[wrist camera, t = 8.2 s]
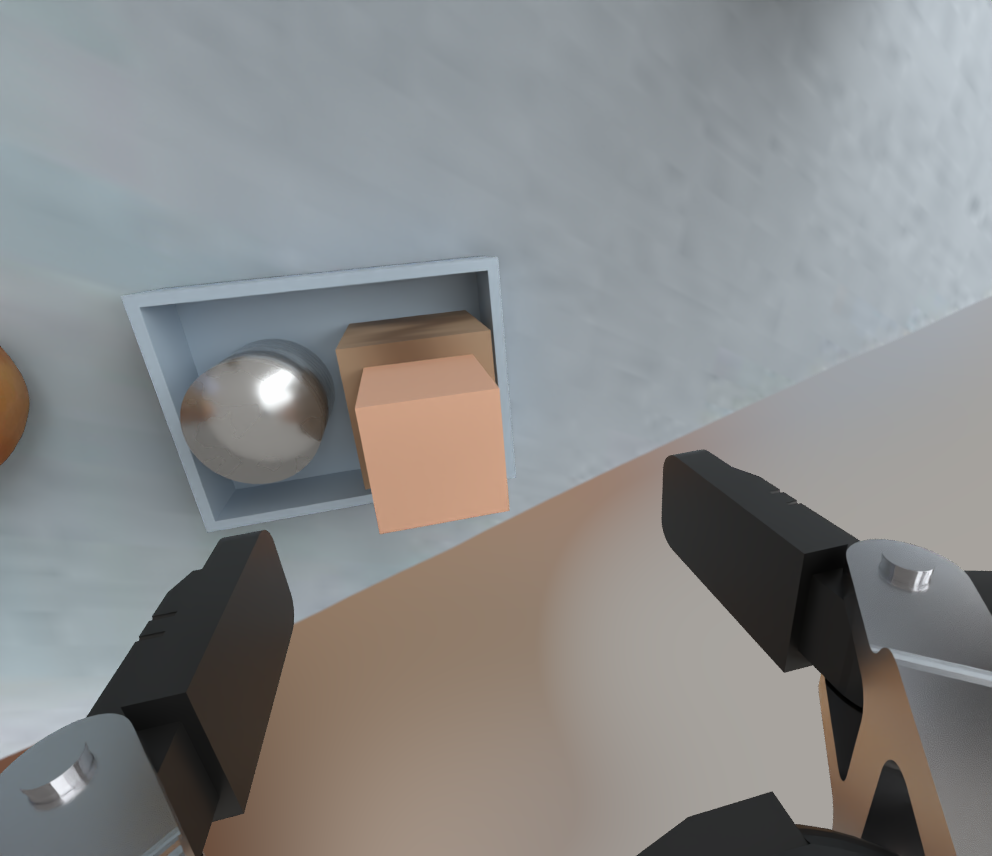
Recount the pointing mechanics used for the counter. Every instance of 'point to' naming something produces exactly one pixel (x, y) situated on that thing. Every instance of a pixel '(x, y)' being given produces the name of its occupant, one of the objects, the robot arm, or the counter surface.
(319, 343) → the tote
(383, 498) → the peach rectangular block
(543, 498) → the counter surface
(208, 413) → the grey tin
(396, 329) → the walnut block
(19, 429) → the onion
